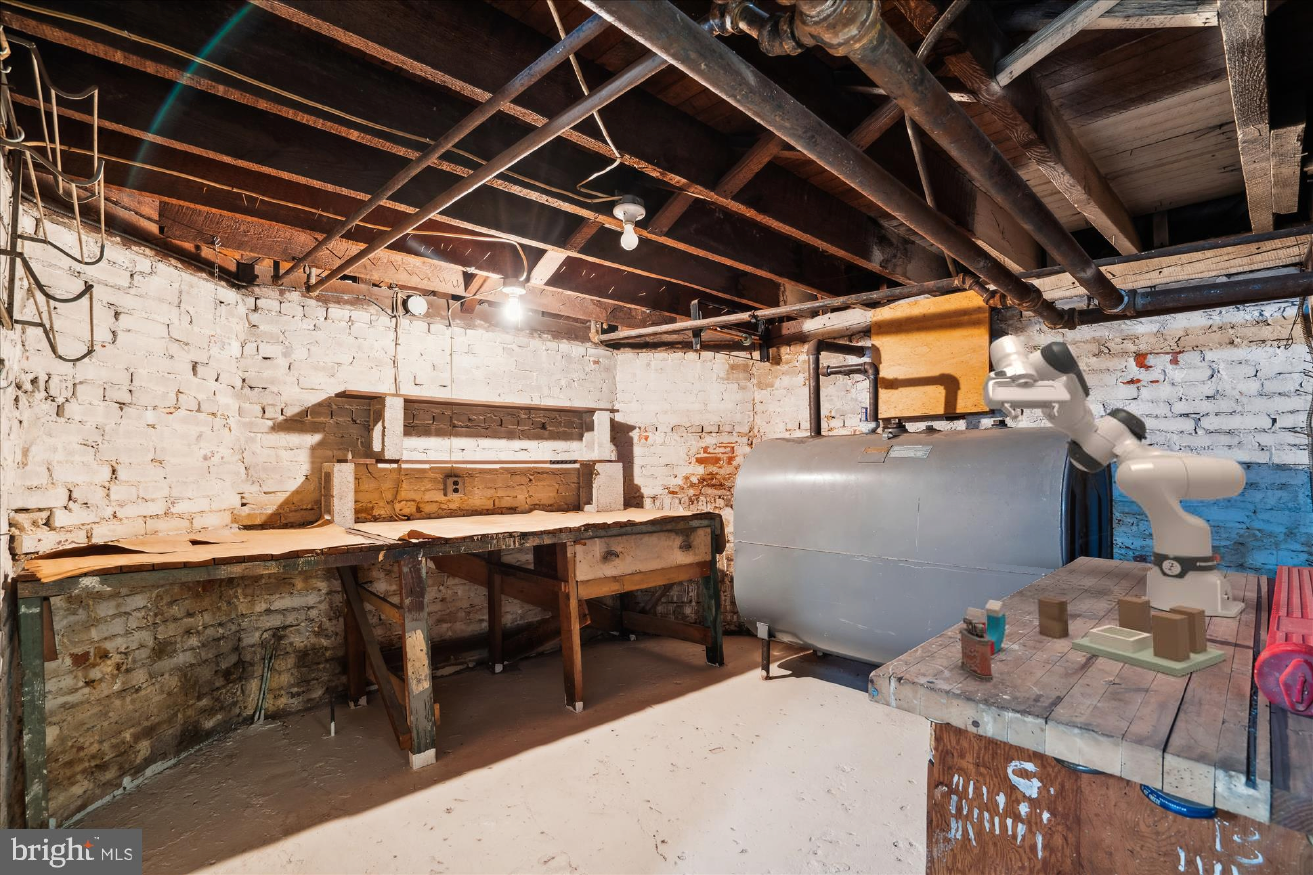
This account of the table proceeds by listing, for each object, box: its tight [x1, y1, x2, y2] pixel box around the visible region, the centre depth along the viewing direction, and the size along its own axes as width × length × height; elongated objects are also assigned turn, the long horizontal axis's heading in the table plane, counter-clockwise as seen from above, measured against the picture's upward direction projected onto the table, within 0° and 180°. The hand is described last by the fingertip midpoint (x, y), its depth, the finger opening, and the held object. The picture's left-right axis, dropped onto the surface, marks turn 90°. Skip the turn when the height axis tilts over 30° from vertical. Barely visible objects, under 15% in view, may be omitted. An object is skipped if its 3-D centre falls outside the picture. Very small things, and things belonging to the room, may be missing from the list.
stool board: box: [1071, 595, 1227, 678], centre depth 116 cm, size 18×18×10 cm
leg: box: [1037, 596, 1070, 640], centre depth 129 cm, size 4×4×8 cm
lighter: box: [959, 615, 994, 682], centre depth 109 cm, size 8×3×10 cm, turn 179°
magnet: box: [965, 599, 1007, 655], centre depth 119 cm, size 12×3×10 cm, turn 126°
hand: (1034, 418), depth 150 cm, fingers open, 8 cm apart
